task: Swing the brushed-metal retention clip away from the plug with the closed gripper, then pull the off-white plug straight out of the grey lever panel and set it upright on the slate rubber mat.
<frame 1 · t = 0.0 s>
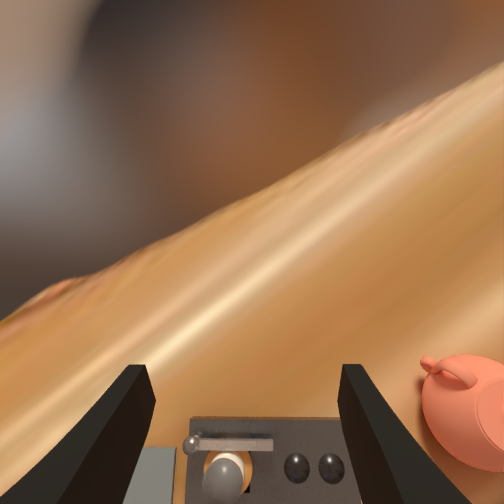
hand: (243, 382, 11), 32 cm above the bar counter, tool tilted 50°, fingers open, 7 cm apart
clip: (229, 443, 35), point 4 cm above the bar counter, hinge at 0.0°
sugar bowl: (456, 400, 39), on the bar counter
mat: (141, 489, 37), on the bar counter
plug: (227, 471, 34), in the grey lever panel
grey lever panel: (230, 462, 38), on the bar counter
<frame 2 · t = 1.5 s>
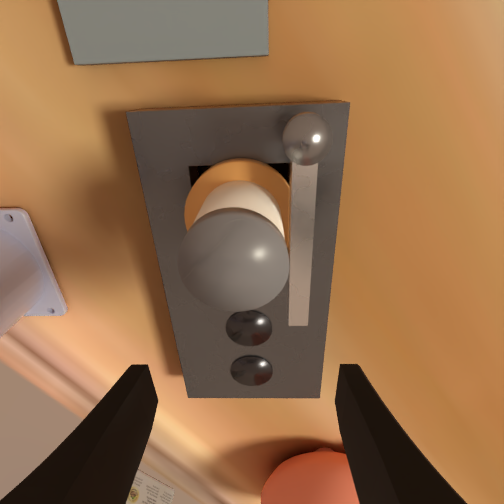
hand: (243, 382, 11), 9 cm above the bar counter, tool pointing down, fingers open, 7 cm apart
clip: (299, 228, 14), point 4 cm above the bar counter, hinge at 0.0°
sugar bowl: (326, 465, 32), on the bar counter
coffee box: (129, 487, 35), on the bar counter
plug: (240, 226, 14), in the grey lever panel
grey lever panel: (244, 200, 18), on the bar counter
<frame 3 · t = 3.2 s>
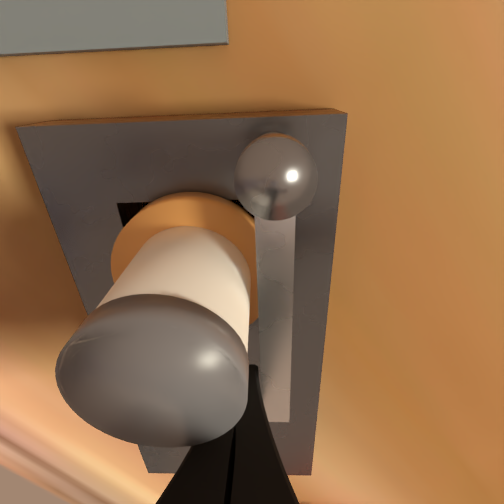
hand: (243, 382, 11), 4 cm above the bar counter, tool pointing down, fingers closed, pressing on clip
clip: (274, 295, 10), point 4 cm above the bar counter, hinge at 0.0°, touching gripper
plug: (188, 291, 10), in the grey lever panel
grey lever panel: (206, 240, 13), on the bar counter
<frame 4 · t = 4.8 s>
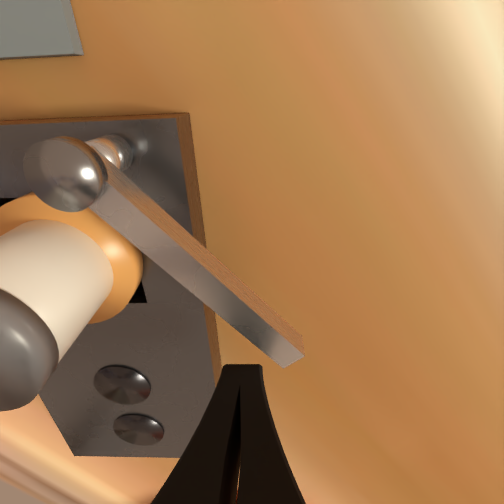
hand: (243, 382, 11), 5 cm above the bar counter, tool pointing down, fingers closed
clip: (196, 256, 10), point 4 cm above the bar counter, hinge at 40.2°
plug: (49, 278, 11), in the grey lever panel
grey lever panel: (98, 234, 14), on the bar counter
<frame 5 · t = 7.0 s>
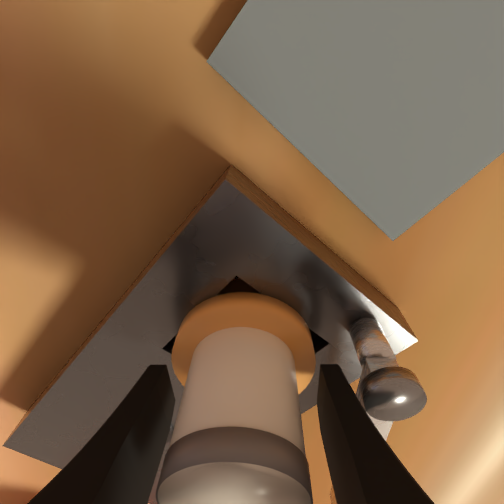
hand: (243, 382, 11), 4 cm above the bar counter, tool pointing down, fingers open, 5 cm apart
clip: (357, 432, 13), point 4 cm above the bar counter, hinge at 40.7°, touching gripper
mat: (403, 59, 9), on the bar counter
plug: (242, 381, 11), in the grey lever panel
grey lever panel: (246, 314, 15), on the bar counter
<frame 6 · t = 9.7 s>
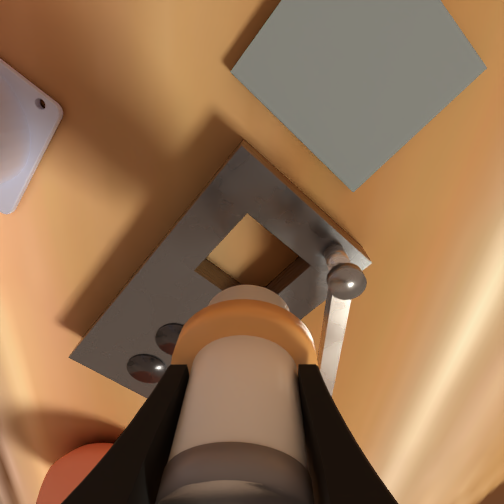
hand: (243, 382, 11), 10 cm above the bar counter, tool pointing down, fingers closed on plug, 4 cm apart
clip: (330, 327, 18), point 4 cm above the bar counter, hinge at 40.7°
sugar bowl: (127, 460, 33), on the bar counter
mat: (353, 70, 15), on the bar counter
plug: (243, 390, 11), point 10 cm above the bar counter, touching gripper
grey lever panel: (252, 252, 20), on the bar counter
when the fingers open (5 cm above the bar counter, at t = 12.0 s): plug drops 1 cm, resting on mat.
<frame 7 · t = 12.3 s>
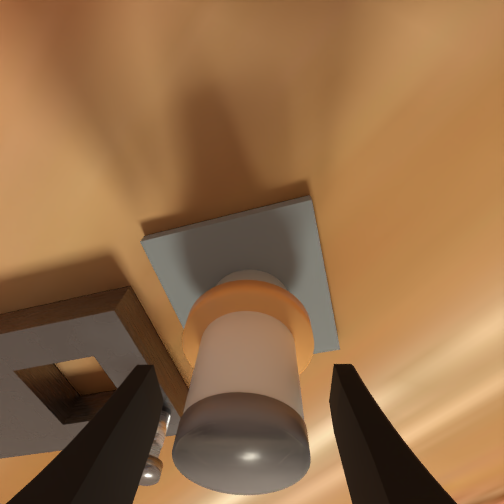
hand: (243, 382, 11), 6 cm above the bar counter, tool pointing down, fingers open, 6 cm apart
clip: (122, 475, 18), point 4 cm above the bar counter, hinge at 40.7°
mat: (249, 293, 16), on the bar counter
plug: (247, 360, 12), on the mat, point 4 cm above the bar counter
grey lever panel: (94, 365, 19), on the bar counter
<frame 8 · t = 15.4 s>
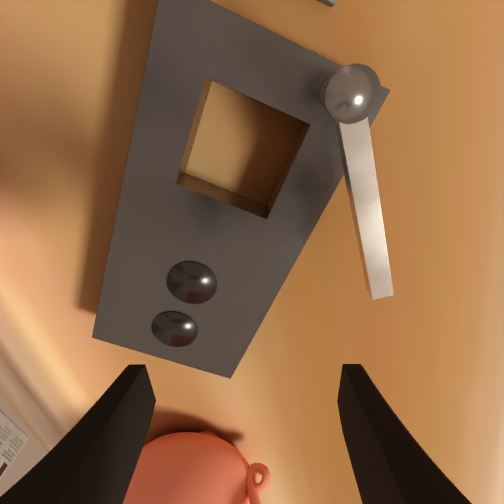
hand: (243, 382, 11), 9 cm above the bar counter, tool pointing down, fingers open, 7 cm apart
clip: (360, 194, 14), point 4 cm above the bar counter, hinge at 40.7°
sugar bowl: (203, 450, 31), on the bar counter
grey lever panel: (242, 147, 16), on the bar counter
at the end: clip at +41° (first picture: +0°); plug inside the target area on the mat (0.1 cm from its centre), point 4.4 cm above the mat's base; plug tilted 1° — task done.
